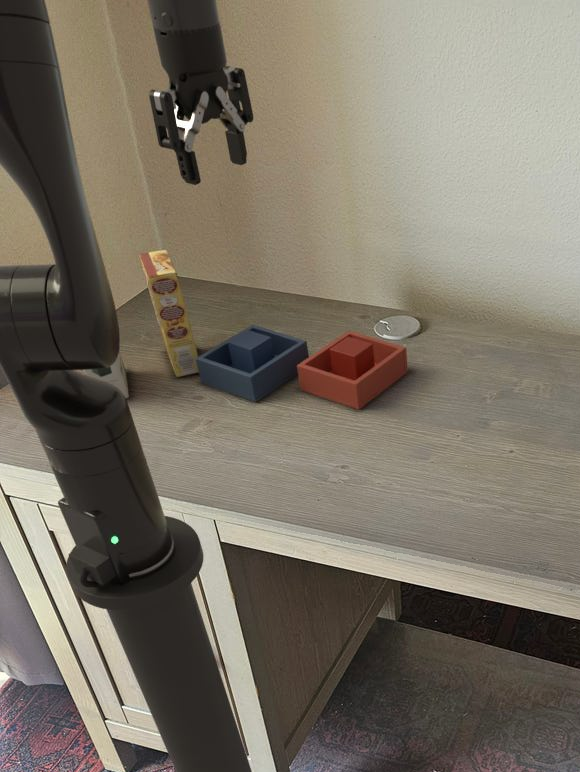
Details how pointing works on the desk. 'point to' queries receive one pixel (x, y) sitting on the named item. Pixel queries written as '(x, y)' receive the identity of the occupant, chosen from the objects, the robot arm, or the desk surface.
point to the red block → (352, 358)
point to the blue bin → (262, 381)
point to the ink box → (112, 375)
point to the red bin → (346, 391)
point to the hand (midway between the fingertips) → (216, 173)
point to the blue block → (250, 351)
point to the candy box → (170, 311)
